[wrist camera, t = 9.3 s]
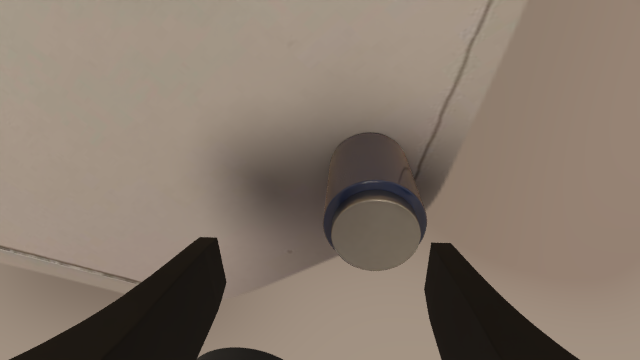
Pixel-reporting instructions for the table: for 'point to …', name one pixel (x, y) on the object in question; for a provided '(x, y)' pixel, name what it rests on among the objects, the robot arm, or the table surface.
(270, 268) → the table surface
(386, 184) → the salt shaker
